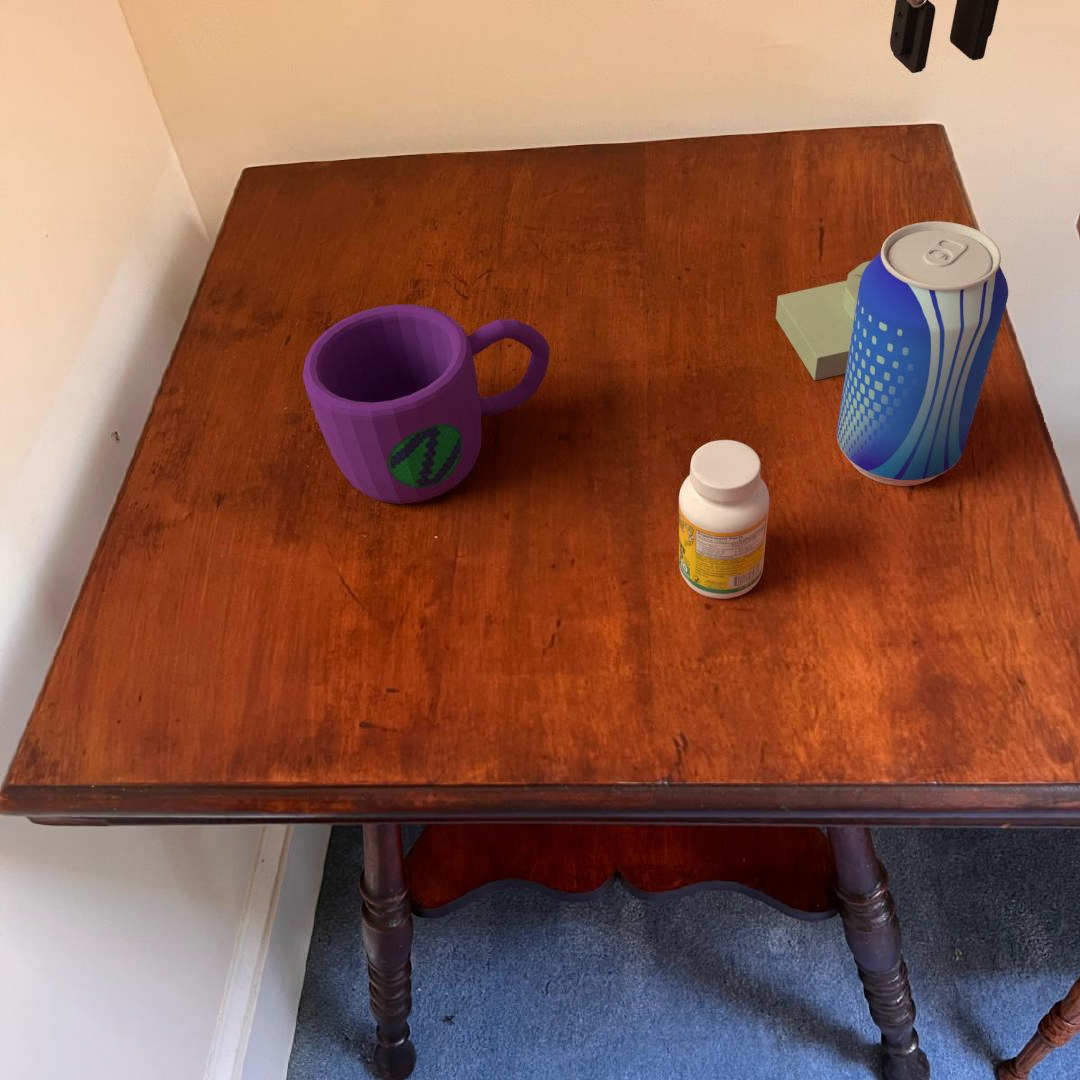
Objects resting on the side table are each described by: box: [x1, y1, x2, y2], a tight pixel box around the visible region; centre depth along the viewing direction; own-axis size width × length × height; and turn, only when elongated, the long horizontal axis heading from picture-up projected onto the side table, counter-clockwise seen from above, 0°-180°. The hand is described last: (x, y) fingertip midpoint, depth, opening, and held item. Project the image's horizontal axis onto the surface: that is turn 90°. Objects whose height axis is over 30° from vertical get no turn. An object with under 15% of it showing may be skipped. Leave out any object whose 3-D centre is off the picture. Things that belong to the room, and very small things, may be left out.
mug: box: [302, 303, 550, 505], centre depth 73 cm, size 17×11×10 cm, turn 116°
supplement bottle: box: [678, 439, 770, 600], centre depth 63 cm, size 5×5×10 cm
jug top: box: [775, 260, 872, 381], centre depth 79 cm, size 11×8×4 cm
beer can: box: [836, 221, 1009, 487], centre depth 66 cm, size 8×8×16 cm
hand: (937, 54), depth 64 cm, fingers open, 3 cm apart
